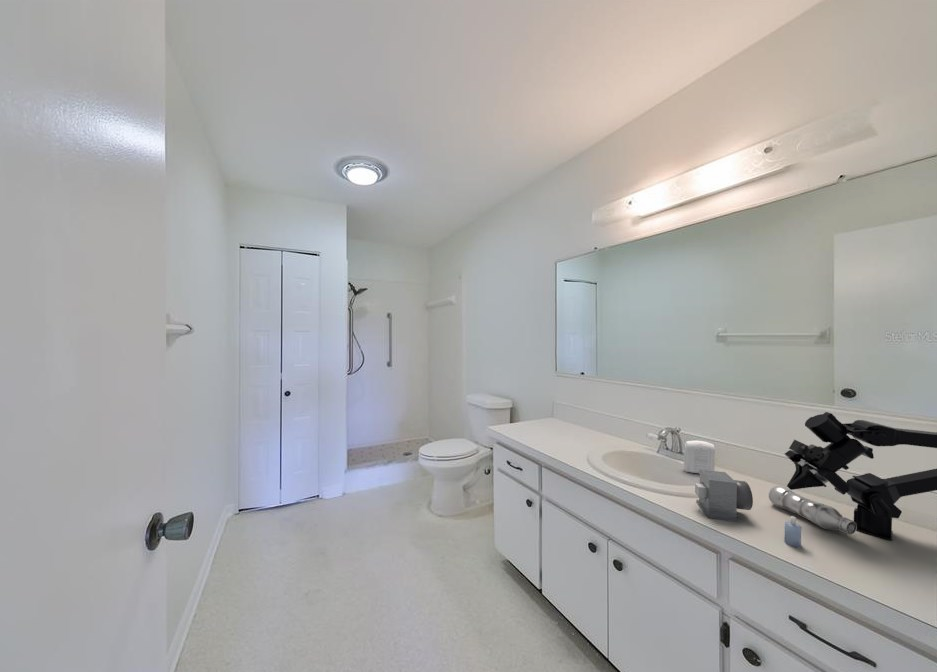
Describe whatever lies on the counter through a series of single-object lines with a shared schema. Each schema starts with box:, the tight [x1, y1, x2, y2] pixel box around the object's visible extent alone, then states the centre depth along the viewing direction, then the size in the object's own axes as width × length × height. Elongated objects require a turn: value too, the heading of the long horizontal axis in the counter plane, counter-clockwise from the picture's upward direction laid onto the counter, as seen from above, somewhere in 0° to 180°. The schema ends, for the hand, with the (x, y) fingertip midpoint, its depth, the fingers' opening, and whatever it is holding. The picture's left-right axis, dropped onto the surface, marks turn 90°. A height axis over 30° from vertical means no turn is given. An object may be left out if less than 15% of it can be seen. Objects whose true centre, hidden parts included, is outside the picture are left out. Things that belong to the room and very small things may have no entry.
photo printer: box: [683, 439, 716, 474], centre depth 137 cm, size 10×4×12 cm, turn 72°
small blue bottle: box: [783, 515, 803, 548], centre depth 91 cm, size 3×3×7 cm
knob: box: [694, 479, 754, 511], centre depth 107 cm, size 13×8×8 cm, turn 74°
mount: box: [696, 470, 741, 523], centre depth 107 cm, size 8×10×11 cm
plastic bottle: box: [768, 485, 857, 535], centre depth 103 cm, size 6×7×20 cm
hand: (788, 487), depth 102 cm, fingers closed
